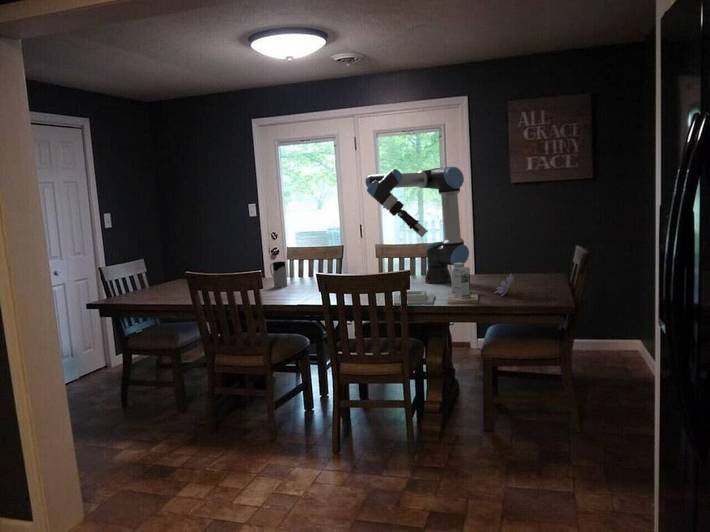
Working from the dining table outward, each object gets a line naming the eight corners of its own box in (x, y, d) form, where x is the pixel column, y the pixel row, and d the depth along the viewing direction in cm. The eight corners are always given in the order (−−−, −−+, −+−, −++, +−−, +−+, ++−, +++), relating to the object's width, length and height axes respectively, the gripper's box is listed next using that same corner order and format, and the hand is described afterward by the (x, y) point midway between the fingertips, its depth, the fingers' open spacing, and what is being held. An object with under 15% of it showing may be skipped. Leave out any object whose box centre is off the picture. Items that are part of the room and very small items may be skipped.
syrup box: (461, 298, 282) (459, 268, 280) (454, 297, 287) (453, 267, 285) (471, 297, 284) (470, 267, 282) (464, 295, 289) (463, 266, 287)
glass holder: (278, 288, 353) (276, 263, 351) (265, 286, 364) (263, 262, 362) (291, 286, 359) (289, 261, 357) (277, 284, 369) (275, 260, 367)
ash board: (449, 296, 295) (449, 294, 295) (477, 295, 293) (477, 293, 292) (447, 303, 278) (447, 301, 278) (478, 303, 275) (477, 300, 275)
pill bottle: (467, 293, 301) (466, 264, 299) (451, 293, 303) (450, 264, 301) (467, 290, 309) (466, 261, 307) (452, 290, 311) (451, 262, 309)
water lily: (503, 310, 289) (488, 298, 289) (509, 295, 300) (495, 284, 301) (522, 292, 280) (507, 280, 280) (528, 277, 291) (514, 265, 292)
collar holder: (395, 297, 302) (395, 289, 301) (435, 296, 298) (434, 288, 297) (390, 305, 282) (389, 297, 282) (432, 304, 278) (432, 296, 278)
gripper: (391, 209, 308) (421, 237, 307) (384, 212, 284) (417, 242, 283) (401, 199, 307) (431, 226, 306) (395, 200, 282) (428, 230, 281)
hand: (424, 234), depth 294 cm, fingers open, 13 cm apart
